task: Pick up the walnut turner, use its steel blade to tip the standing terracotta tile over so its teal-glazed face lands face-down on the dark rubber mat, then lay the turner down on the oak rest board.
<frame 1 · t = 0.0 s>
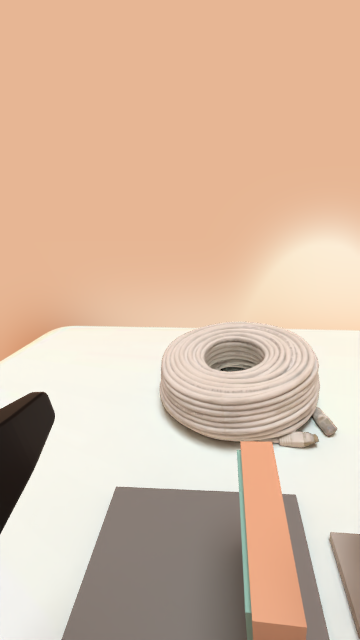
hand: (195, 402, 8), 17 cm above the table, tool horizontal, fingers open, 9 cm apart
tile: (266, 617, 16), point 1 cm above the table, touching mat
mat: (193, 613, 17), on the table
cable: (235, 394, 34), on the table
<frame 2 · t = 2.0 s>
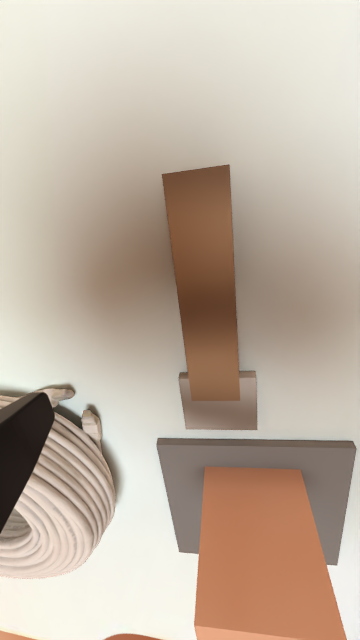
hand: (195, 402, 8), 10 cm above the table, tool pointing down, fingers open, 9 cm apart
tile: (251, 475, 22), point 1 cm above the table, touching mat
mat: (252, 501, 24), on the table
cable: (32, 459, 27), on the table
turner: (209, 285, 17), on the table
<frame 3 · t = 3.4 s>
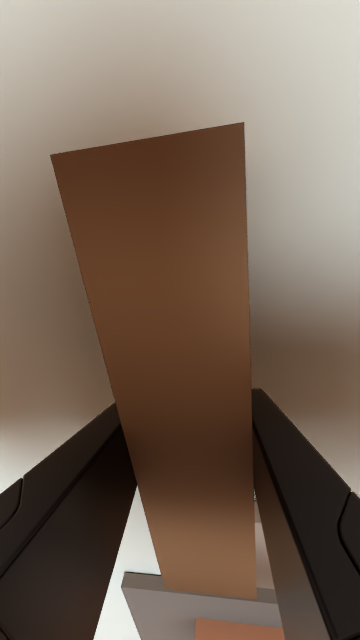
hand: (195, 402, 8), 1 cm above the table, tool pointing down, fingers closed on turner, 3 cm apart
tile: (268, 634, 14), point 1 cm above the table, touching mat
turner: (198, 373, 9), on the table, touching gripper
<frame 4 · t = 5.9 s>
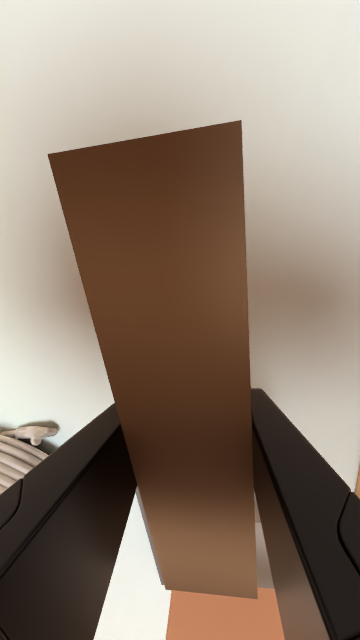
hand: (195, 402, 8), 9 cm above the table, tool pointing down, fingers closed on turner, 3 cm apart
tile: (228, 516, 22), point 1 cm above the table, touching mat
mat: (230, 539, 25), on the table
cable: (19, 490, 27), on the table
turner: (198, 373, 9), point 7 cm above the table, touching gripper
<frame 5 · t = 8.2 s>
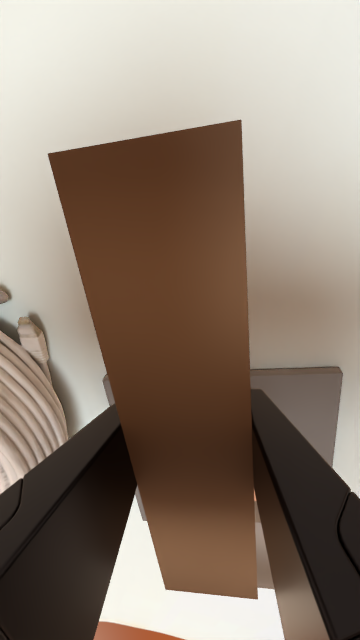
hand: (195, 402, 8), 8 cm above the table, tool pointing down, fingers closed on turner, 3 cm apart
mat: (222, 454, 20), on the table
turner: (198, 372, 9), point 7 cm above the table, touching gripper
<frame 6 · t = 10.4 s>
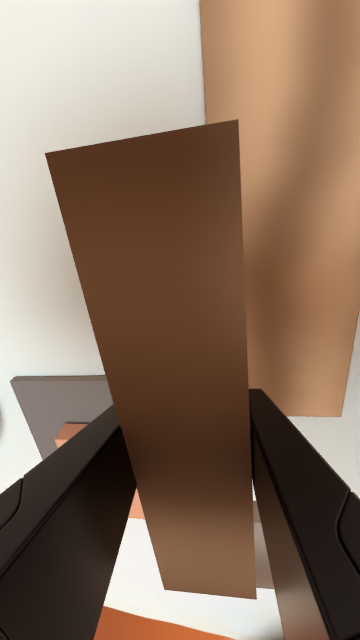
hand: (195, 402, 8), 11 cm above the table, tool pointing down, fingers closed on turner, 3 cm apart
tile: (102, 432, 22), point 2 cm above the table, tilted 90°, touching mat
mat: (116, 443, 25), on the table
rest board: (285, 238, 16), on the table
turner: (197, 372, 9), point 9 cm above the table, touching gripper
when the fingers open (4 cm above the table, at t = 12.4 s): turner drops 1 cm, resting on rest board.
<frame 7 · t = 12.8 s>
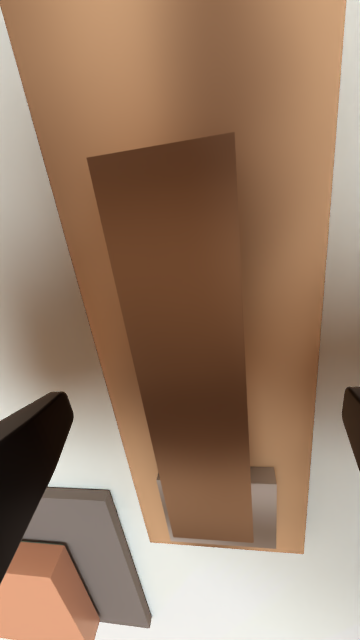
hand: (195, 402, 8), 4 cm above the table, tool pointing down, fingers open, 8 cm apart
tile: (4, 555, 17), point 2 cm above the table, tilted 90°, touching mat
mat: (36, 554, 20), on the table
rest board: (202, 340, 11), on the table
turner: (201, 347, 10), point 1 cm above the table, touching rest board
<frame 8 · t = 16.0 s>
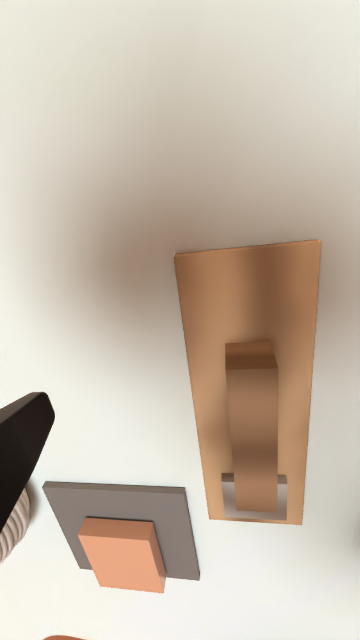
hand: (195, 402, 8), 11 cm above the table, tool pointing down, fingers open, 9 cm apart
tile: (115, 528, 28), point 2 cm above the table, tilted 90°, touching mat
mat: (126, 530, 30), on the table
rest board: (249, 409, 22), on the table
turner: (250, 415, 21), point 1 cm above the table, touching rest board
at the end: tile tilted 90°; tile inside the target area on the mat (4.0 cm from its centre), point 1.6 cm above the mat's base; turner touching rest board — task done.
